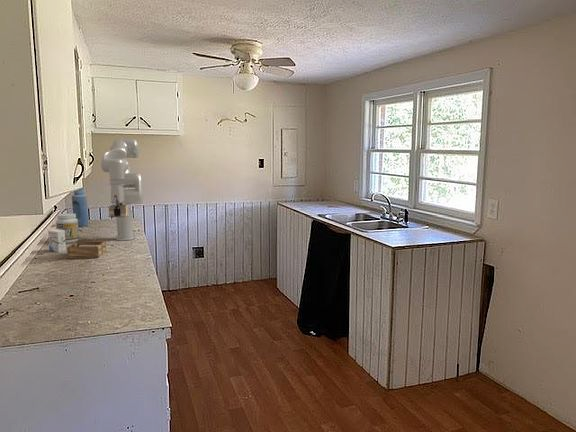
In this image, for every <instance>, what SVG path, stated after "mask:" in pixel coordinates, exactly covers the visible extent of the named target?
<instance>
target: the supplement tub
mask: <svg viewBox="0 0 576 432" xmlns="http://www.w3.org/2000/svg"><path fill="white" fill-rule="evenodd" d="M56 216H57V217H56V218H57V219H56V221H55V223H56V225H55V227H56V229H59V230H64V231H65V243H66V244H70V243H72V244H73V243H75V242H79V239H80V234H79V232H80V230H79V227H78V219H77V218H76V214H74V213H73V212H70V213H68V212H67V213H59V214H57V215H56Z"/></svg>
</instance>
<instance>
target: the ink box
mask: <svg viewBox="0 0 576 432" xmlns="http://www.w3.org/2000/svg"><path fill="white" fill-rule="evenodd" d="M47 236H48V250H49V251H50V252H55V253H62V252H65V251H67V247H66V246H67V245H66V244H67V243H65V231H64V230H59V229H57V228H54V229H50V230H48V231H47Z"/></svg>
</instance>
